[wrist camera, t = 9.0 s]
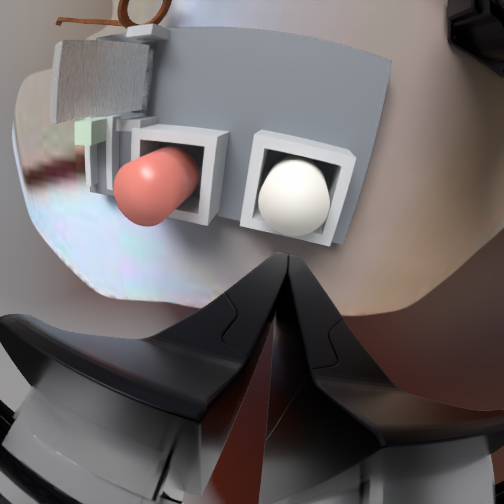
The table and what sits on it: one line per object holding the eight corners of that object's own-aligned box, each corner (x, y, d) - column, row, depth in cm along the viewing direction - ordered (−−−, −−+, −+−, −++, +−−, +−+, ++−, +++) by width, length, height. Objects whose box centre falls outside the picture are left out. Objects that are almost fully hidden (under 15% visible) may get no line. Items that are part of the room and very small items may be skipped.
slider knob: (113, 116, 18) (91, 121, 16) (113, 138, 19) (91, 145, 17) (97, 116, 18) (74, 122, 16) (96, 137, 19) (74, 144, 17)
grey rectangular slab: (160, 43, 14) (64, 36, 8) (151, 112, 17) (56, 127, 11) (148, 45, 15) (55, 41, 9) (140, 111, 17) (48, 126, 11)
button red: (201, 149, 16) (173, 164, 13) (196, 205, 18) (171, 232, 15) (148, 143, 16) (112, 157, 13) (146, 196, 18) (115, 219, 15)
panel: (383, 64, 15) (405, 54, 11) (340, 233, 22) (346, 265, 18) (110, 40, 16) (74, 35, 12) (102, 184, 24) (70, 203, 19)
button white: (331, 162, 17) (338, 178, 13) (317, 214, 19) (319, 242, 15) (273, 149, 17) (264, 161, 14) (263, 202, 19) (253, 227, 16)
